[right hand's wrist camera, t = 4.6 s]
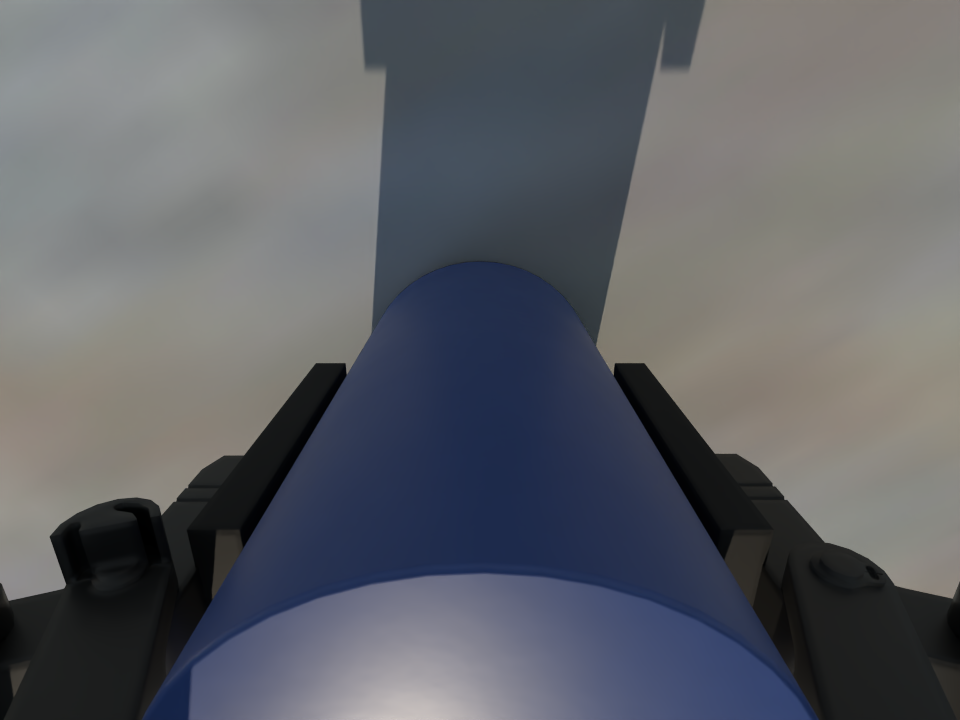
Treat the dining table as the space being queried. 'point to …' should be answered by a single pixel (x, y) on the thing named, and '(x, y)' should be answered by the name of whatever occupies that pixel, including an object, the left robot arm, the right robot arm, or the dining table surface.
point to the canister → (480, 544)
